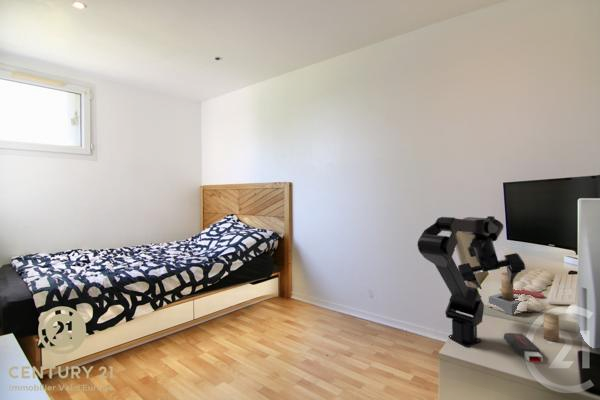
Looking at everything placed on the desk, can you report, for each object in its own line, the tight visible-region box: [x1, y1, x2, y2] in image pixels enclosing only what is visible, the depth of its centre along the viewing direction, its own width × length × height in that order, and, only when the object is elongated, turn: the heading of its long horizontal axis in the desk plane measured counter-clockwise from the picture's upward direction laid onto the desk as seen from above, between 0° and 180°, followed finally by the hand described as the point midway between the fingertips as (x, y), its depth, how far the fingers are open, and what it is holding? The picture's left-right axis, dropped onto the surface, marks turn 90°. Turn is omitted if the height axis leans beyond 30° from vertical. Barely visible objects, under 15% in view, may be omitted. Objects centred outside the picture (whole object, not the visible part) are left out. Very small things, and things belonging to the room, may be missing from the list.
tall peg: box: [501, 272, 515, 302], centre depth 112 cm, size 4×4×13 cm
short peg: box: [542, 312, 560, 343], centre depth 90 cm, size 4×4×7 cm
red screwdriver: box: [499, 288, 545, 300], centre depth 125 cm, size 4×2×15 cm
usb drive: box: [503, 332, 544, 363], centre depth 86 cm, size 5×12×3 cm, turn 168°
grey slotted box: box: [488, 292, 528, 316], centre depth 112 cm, size 8×8×4 cm
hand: (495, 285), depth 106 cm, fingers open, 9 cm apart
